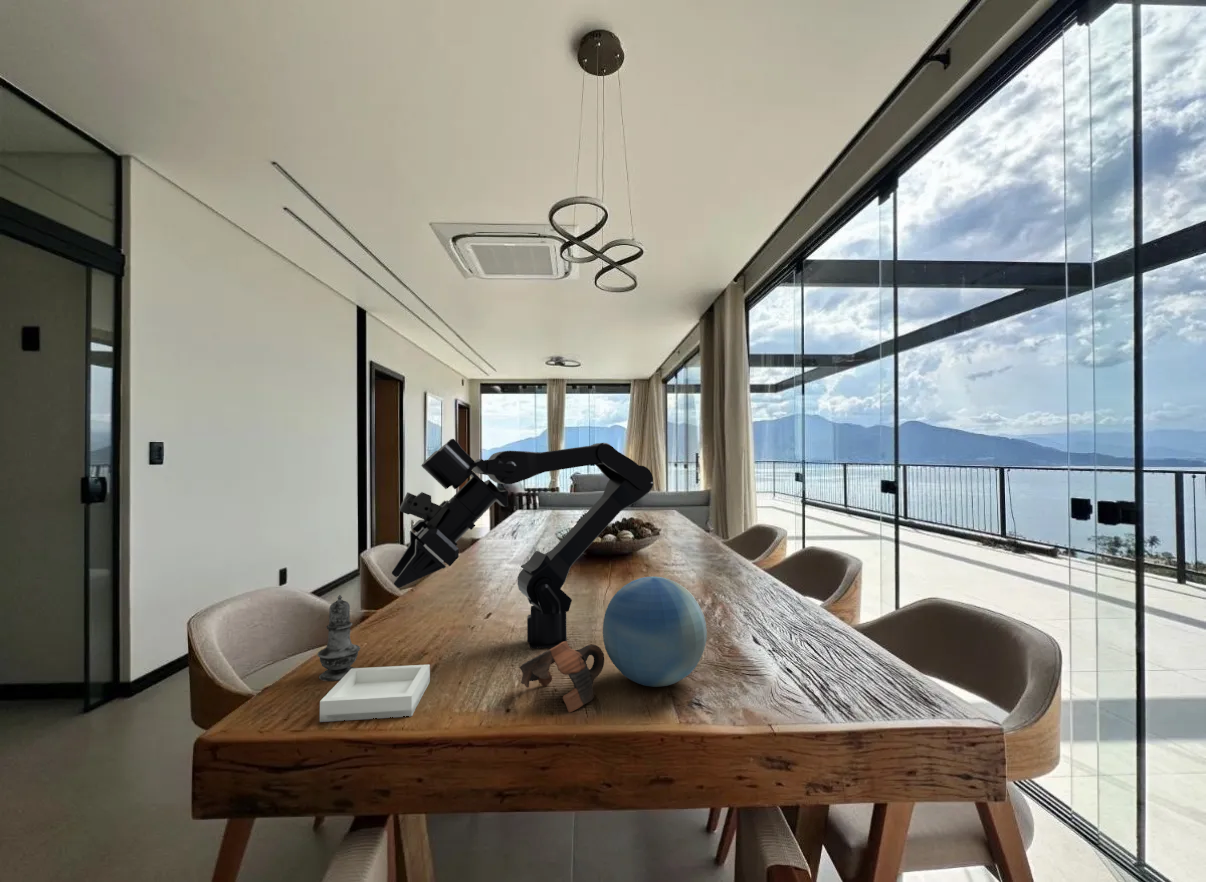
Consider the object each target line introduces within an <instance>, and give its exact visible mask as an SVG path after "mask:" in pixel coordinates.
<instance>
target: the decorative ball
mask: <svg viewBox="0 0 1206 882" xmlns="http://www.w3.org/2000/svg"><path fill="white" fill-rule="evenodd" d="M604 612H605V613H604V617H603V622H602V624H603V625H602V639H603V644H604V649H605V651H606V653H607V656H608V658H609V659H610V661H611V663H612V664H613V665H614V667H616V669H617V670H618V671H619V672H620V673H621V674H622V676H624V677H625V678H627V679H629V680H630V681H632V682H634V683H637V684H638V685H642V686H645V687H652V688H658V687H659V688H660V687H667V686H671V685H673V684H676V683H678V682H680V681H682V680H683V679H685V678H686V677H687V676H689V675H690V674H691V673H692V672H693V671H694V670H695V668H696V667H697V665H698V664H699V663H700V660H701V658H702V656H703V654H704V651H705V649H706V644H707V638H708V637H707V635H708V630H707V623H706V617H705V615H704V613H703V611H702V608H701V606H700V604H699V603H698V601H697V600H696V598H695V597H694V595H693V594H692V593H691V591H690V590H688V589H687V588H686V587H684V586H683V585H681V584H680V583H678V582H677V581H674V580H671V579H669V578H666V577H661V576H645V577H640V578H637V579H635V580H632V581H630V582H628V583H627V584H624V585H623V586H622V587H621V588H620V589H619V590H617V592H616V593H615V594H614V595H613V596H612V598H611V599H610V601H609V603H608V604H607V607H606V610H605V611H604Z"/></svg>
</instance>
